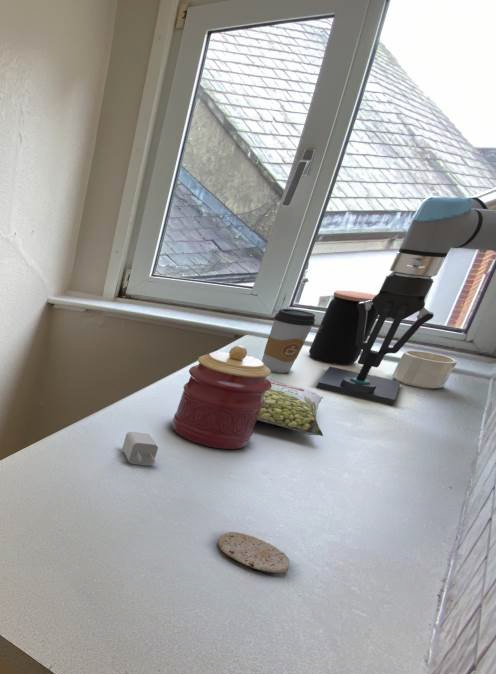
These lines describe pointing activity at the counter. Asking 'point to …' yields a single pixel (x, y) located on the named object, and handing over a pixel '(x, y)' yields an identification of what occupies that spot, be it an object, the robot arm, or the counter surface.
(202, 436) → the kitchen canister
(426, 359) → the bowl
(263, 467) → the counter surface
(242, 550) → the flatbread
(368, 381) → the button
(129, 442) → the usb wall charger
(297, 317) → the coffee cup
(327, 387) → the scale
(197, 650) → the counter surface
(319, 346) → the coffee jar
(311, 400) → the frozen beans
